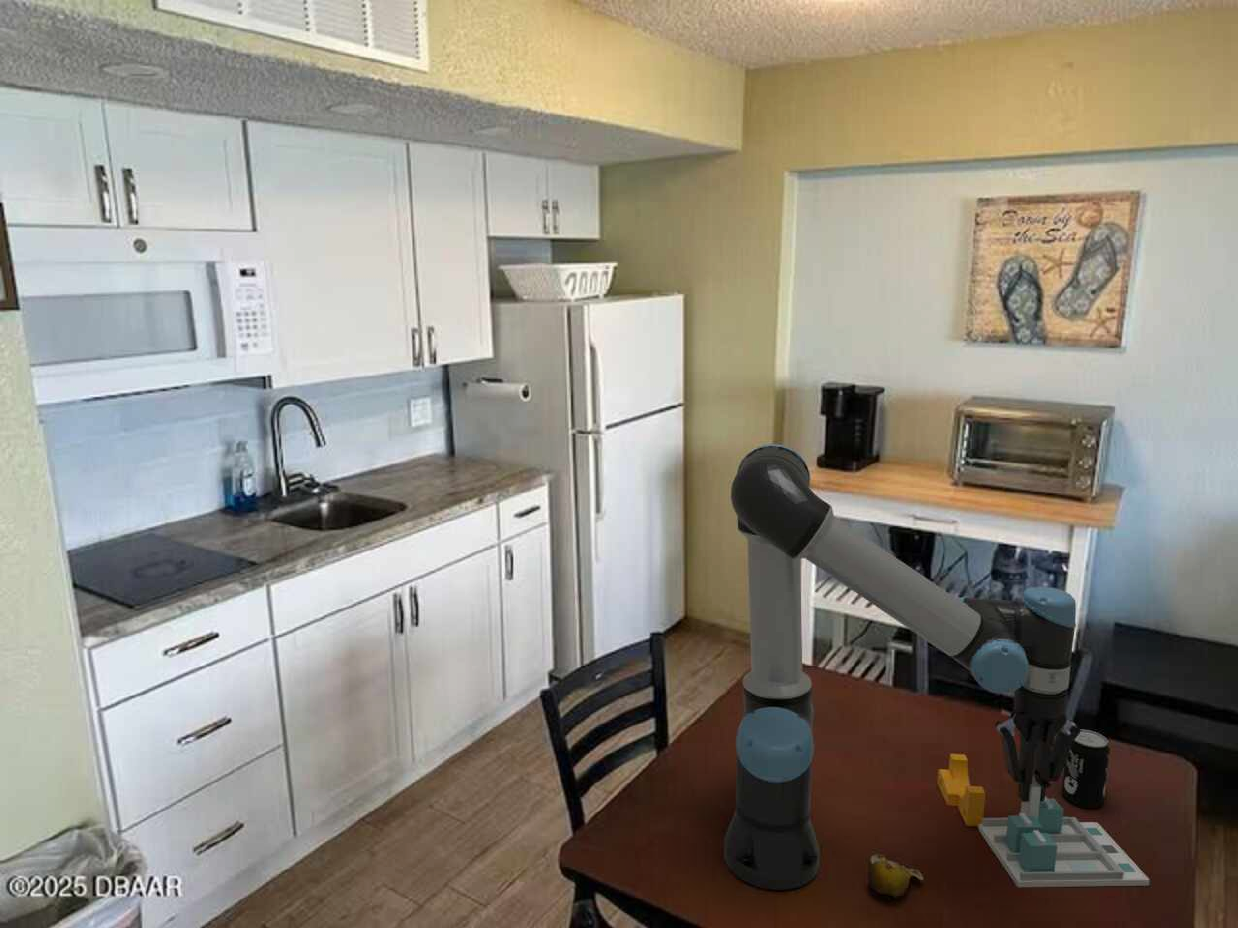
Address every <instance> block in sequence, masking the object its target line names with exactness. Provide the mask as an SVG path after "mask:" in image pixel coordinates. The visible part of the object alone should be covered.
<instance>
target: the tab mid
mask: <svg viewBox="0 0 1238 928" xmlns="http://www.w3.org/2000/svg"><path fill="white" fill-rule="evenodd" d="M1007 818H1008V824H1007V835H1006V844H1007V846H1008V847H1009V849H1010V850H1011V851H1012V853H1020V843H1021V833H1033V830H1038V831H1039V832H1040V833H1042V829H1043V827H1042V826H1041V824H1040V823H1039V822H1038V821H1037V819H1036V818H1035V817H1034V816H1033V815H1025V813H1021V812H1019V813H1018V815H1008V816H1007Z"/></svg>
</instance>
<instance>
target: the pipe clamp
mask: <svg viewBox="0 0 1238 928" xmlns="http://www.w3.org/2000/svg"><path fill="white" fill-rule="evenodd" d="M948 762H949V763H948V764H949V765H948V769H942V768H941V769H938V774H937V776H938V777H937V784H938V787H939V789H940V792H941V794H942V797H943V800H944V801H945V804H946V806H950V807H951V806H952V807H953V806H954V807H957V808H958V811H959V812H960V814H961V816H962V819H963V822H965V825H966V826H969V827H978V824H982V819H983V818H984V814H985V813H984V812H985V803H986V792H985V790H984V788H983V786H977V785H976V786H975V785H971V784H970V779H969V769H968V768H969V766H968V765H969V760H968V757H967V756H966V754H963V753H961V754H960V753H950V754H949V761H948Z"/></svg>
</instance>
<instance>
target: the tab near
mask: <svg viewBox="0 0 1238 928" xmlns="http://www.w3.org/2000/svg"><path fill="white" fill-rule="evenodd" d="M1056 853H1057V844H1056V843H1055V842H1054V841H1053V839H1052V838H1051V837H1050V836H1049V834H1048V833H1040V832H1039V831H1038V830H1033V833H1021V843H1020V853H1019V863H1020V864H1021V865H1022V867H1023V868H1024V870H1025V871H1026V872H1048V871H1055V862H1056Z"/></svg>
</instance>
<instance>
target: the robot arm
mask: <svg viewBox="0 0 1238 928" xmlns="http://www.w3.org/2000/svg"><path fill="white" fill-rule="evenodd" d="M808 467H809V466H808V465H807V463H806V461H805V460H804V459H803V457H802V456H801V455H800V454H799V452H796V451H795V450H794V449H792V448H791V447H789V446H786V445H784V444H783V445H782V444H777V443H776V444H775V443H774V444H773V443H769V444H764V445H761V446H758V447H756V448H754V449H753V450H752V451H750V452H748V453H747V454H746V455H745V456H744V457H743V458H742V460H741V461H740V463H739V465H738V469H737V472H736V474H735V476H734V478H733V481H732V485H731V490H730V499H731V505H732V508H733V511H734V512H735V513H736V516H737V518H736V519H737V530H738V532H739V533H740V534H741V535H742V536H744V537H745V538H746V540H747V565H748V566H747V572H748V603H749V633H750V637H749V638H750V664H751V665H750V666H751V667H750V668H751V669H750V671H748V672H747V673H746V674H745V675H744V676H743V678H742V694H743V695H742V698H743V699H742V700H743V701H742V702H743V719H742V720H741V721H740V723H739V724H738V730H737V733H736V738H735V749H736V780H735V781H736V783H735V784H736V786H735V787H736V788H735V811H734V813H733V815H732V819H731V820H730V823H729V825H728V828H727V831H726V832H725V833H726V834H725V837H724V840H723V857H724V861H725V863H726V866H727V867H728V868H729V870H730V872H731V873H733V874H734V875H735V876H736V877H737V878H739V879H740V880H741V881H744V883H747V884H750V885H752V886H755V887H757V888H761V889H765V890H766V889H767V890H774V891H785V890H787V891H788V890H792V889H796V888H800V887H802V886H804V885H806V884H808V883H810V881H812V880H813V879H815V877H816V875H817V874H818V873H819V867H820V855H821V854H820V847H819V843H818V840H817V836H816V834H815V830H814V827H813V824H812V821H811V799H812V797H811V796H812V776H813V775H812V772H813V758H814V752H815V743H814V742H815V741H814V737H813V723H814V719H815V718H814V716H815V712H814V705H813V690H812V689H813V688H812V687H813V686H812V679H811V678H810V676H809V675H807V673H806V672H804V671H803V637H802V634H803V631H802V585H801V583H802V582H801V580H802V579H801V559H805V560H807V561H808V562H809V563H811V564H812V565H814V566H816V567H817V568H819V569H820V570H821V571H823V572H824V573H826V574H828V575H829V576H830V577H832V578H834V579H835V580H836V581H837V582H840V583H841V584H842V585H844V586H845V587H847V588H848V589H849V590H851V591H852V592H854V593H855V594H857V595H858V596H860V597H862V598H863V599H864V600H865V601H867V602H869V603H870V604H872V606H875V607H876V608H878V609H879V610H880V611H882V612H884V613H885V614H887V615H888V616H890V617H891V618H892V619H894V620H895V621H896V622H898V623H900V624H901V625H903V626H904V627H906V628H908V629H909V630H910V631H912V632H913V633H915V634H916V635H918V636H919V637H921V638H922V639H923V640H925V641H926V642H928V643H930V645H932V646H934V647H935V648H937V649H938V650H939V651H941V652H943V653H944V654H945V655H946V656H949V657H950V658H952V659H953V660H954V661H956V662H957V663H958V664H960V665H962V667H964V668H966V669H967V670H969V672H970V675H971V676H972V677H973V679H974V680H975V681H976V682H977V683H978V685H979V686H980V687H981V688H983V689H984V690H986V691H988V692H990V693H992V694H993V693H994V694H999V695H1001V694H1009V693H1013V692H1014V693H1013V710H1012V711H1011V713H1010V717H1009V718H1008V719H1007V720H1006V721H1004V722H1003V723H1002V721H996V722H995V723H994V727H995V729H996V730H997V731H998V733H999V734H1000V739H1001V740H1000V741H1001V745H1002V750H1003V756H1004V761H1005V762H1004V763H1005V767H1006V773H1007V774H1008V775H1009V776H1010V778H1011V779H1012V780H1013V781H1014V782H1015V783H1018V786H1017V797H1018V799H1020V801H1021V803H1020V804H1021V805H1020V813H1025V815H1033V816H1034V817H1035V818H1036V819H1037V821H1038V813H1039V803H1040V801H1044V799H1045V796H1046V790H1047V789H1048V788H1050V787H1051V783H1050V782H1058V781H1059V780H1060V778H1061V776H1062V774H1063V772H1064V765H1065V762H1066V760H1067V757H1068V754H1069V752H1070V749H1071V746H1072V743H1073V741H1074V740H1075V739H1076V737H1077V736H1078V735H1079V734H1080V732H1081V730H1080V729H1081V728H1079V726H1078V725H1076V724H1075V722H1073V721H1072V720H1071V719H1068V717H1067V715H1066V712H1067V706H1068V696H1069V691H1068V688H1069V683H1070V673H1071V664H1072V653H1073V647H1074V646H1073V645H1074V637H1075V629H1076V628H1077V624H1076V617H1077V616H1076V612H1077V609H1076V608H1077V604H1076V599H1075V598H1074V597H1073V596H1072V594H1070V593H1068V592H1067V591H1066V590H1065V591H1064V590H1063V589H1060V588H1057V587H1050V586H1041V585H1040V586H1039V585H1038V586H1036V587H1033V586H1031V587H1027V588H1026V589H1025V590H1024V591H1023V593H1022V596H1021V598H1020V600H1004V599H1003V600H1002V599H1001V600H1000V599H989V598H973V597H968V596H963V597H961V596H960V597H959V596H958V597H955V596H954V595H952V594H950V593H949V592H947V591H946V590H945V589H943V588H942V587H941V586H939V585H937V584H936V583H934V582H932V581H931V580H930V579H929V578H927V577H925V576H924V575H923V574H921V573H920V572H918V571H916V570H915V569H913V568H912V567H910V566H909V565H907V564H906V563H904V562H903V561H901V560H900V559H898V558H897V557H895V556H894V555H892V554H891V553H890V552H888V551H887V550H885V549H883V548H882V547H881V546H879V544H876V543H875V542H873V541H872V540H870V539H869V538H868V537H866V536H864V535H863V534H861V533H860V532H858V531H857V530H855V529H854V528H852V527H851V526H850V525H848V524H846V523H845V522H843V521H842V520H840V519H839V518H838V517H836V516H835V515H834V511H833V506H832V505H831V504H829V503H827V502H826V501H824V500H823V499H822V498H820V496H819V495H817V494H815V492H813V491H812V489H811V488H810V487H809V486H810V483H811V473H810V470H809V468H808ZM1015 728H1016V729H1017V731H1018V732H1019V739H1020V744H1019V745H1020V746H1019V756H1018V750H1017V745H1016V742H1015V739H1014V736H1016V735H1015ZM1055 737H1056V738H1055Z"/></svg>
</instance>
